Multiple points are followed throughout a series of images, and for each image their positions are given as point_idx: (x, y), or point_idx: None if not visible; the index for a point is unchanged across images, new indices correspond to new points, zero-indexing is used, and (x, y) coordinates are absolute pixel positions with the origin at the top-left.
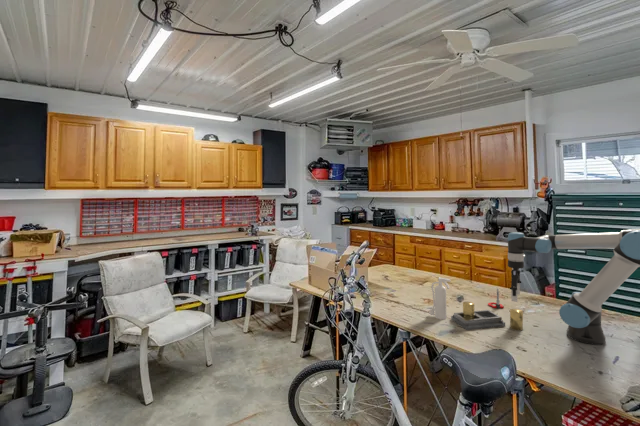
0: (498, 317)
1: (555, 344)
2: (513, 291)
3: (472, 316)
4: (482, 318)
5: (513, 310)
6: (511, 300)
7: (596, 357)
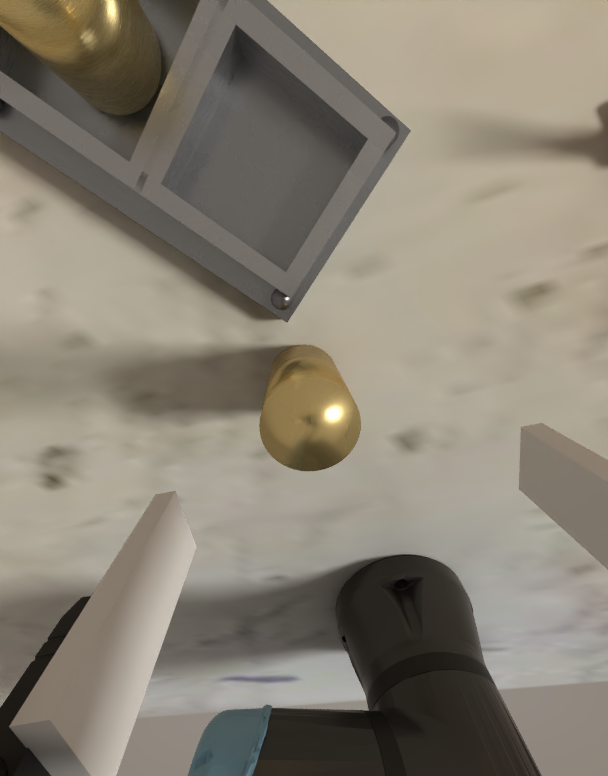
0: (266, 280)
1: (235, 549)
2: (10, 719)
3: (61, 76)
4: (137, 177)
5: (297, 408)
6: (151, 501)
7: (230, 648)
